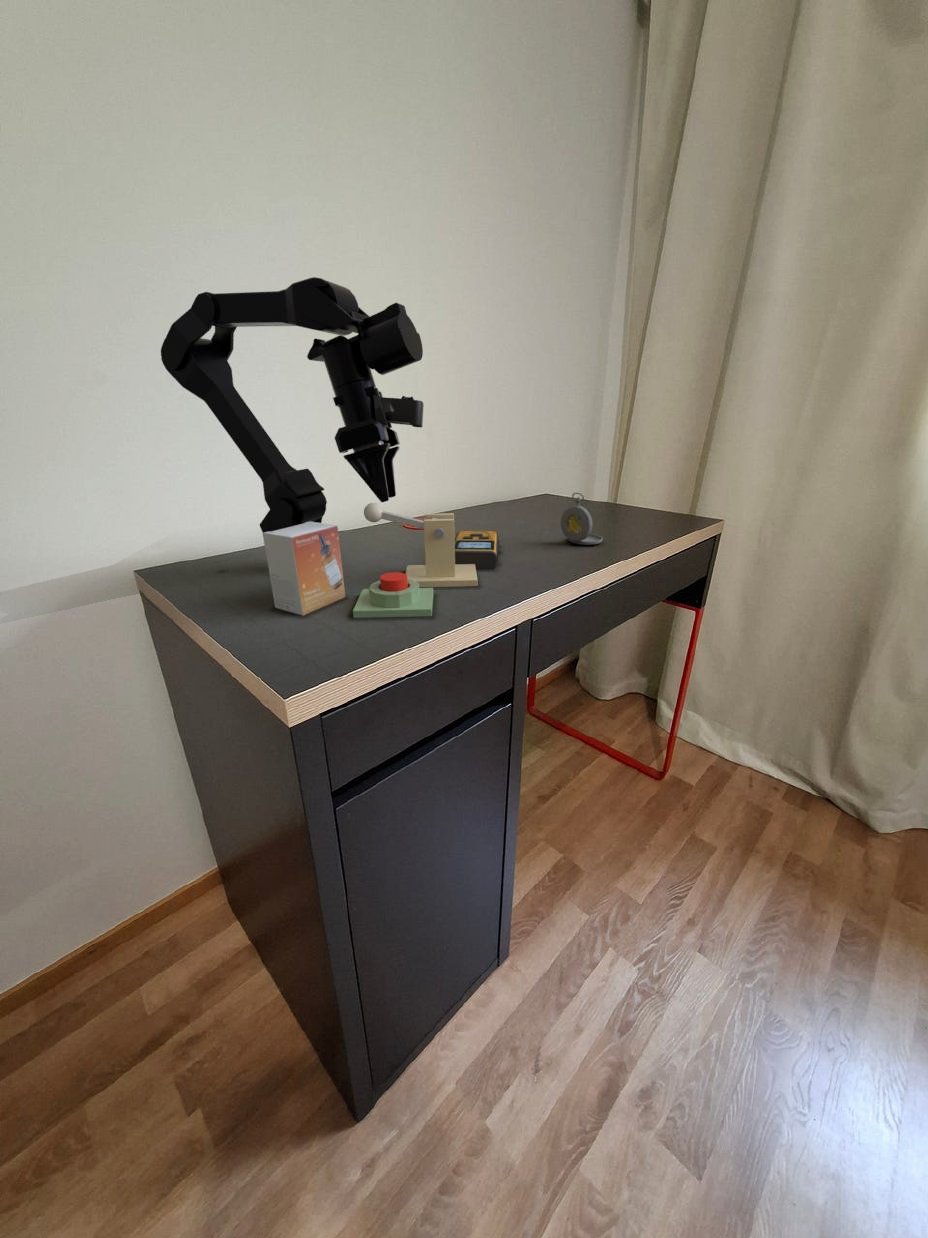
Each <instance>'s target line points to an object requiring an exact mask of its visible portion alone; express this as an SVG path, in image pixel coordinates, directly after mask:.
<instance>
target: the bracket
mask: <svg viewBox="0 0 928 1238" xmlns="http://www.w3.org/2000/svg"><path fill="white" fill-rule="evenodd" d="M432 518H437V519H432ZM423 521H424V529H423V538H424V560H425V562H424V563H425V564H410V565H409V564H408V565H407V566H406V570H405V574H406V575H407V579H411V580H414V581H416V582H417V583H419V588H449V587H478V584H479V582H478V581H479V579H478V574H477V569H476V568H475V564H455V537H456V536H455V513H454V512H451V513H450V512H448V513H447V512H445V513H424V519H423Z"/></svg>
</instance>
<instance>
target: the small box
mask: <svg viewBox="0 0 928 1238" xmlns="http://www.w3.org/2000/svg"><path fill="white" fill-rule="evenodd" d="M262 538H263V544H264V551H265V556H266V561H267V566H268V573H269V578H270V584H271V591H272V596H273V603H274V607H275V609H278V610H282V611H285V612H289V613H291V614H292V613H293V614H296V615H299V616H305V615H307V614H310V613H313V612H315V611H316V610H319V609H321V608H324V607H326V606H328V605H331V604H333V603H335V602H338V601H340V600H342V599H344V598H346V591H345V581H344V573H343V562H342V555H341V553H342V552H341V545H340V535H339V528H338V525H335V524H329V523H322V522H321V523H317V522H310V521H309V522H306V523H303V524H299V525H295V526H292V527H288V528H284V529H279V530H275V531H271V532H264V533H263V532H262Z"/></svg>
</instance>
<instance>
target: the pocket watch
mask: <svg viewBox="0 0 928 1238" xmlns="http://www.w3.org/2000/svg"><path fill="white" fill-rule="evenodd" d="M574 495H580V496H581V497H579V496H577V498H575V497H574ZM571 498H572V500H574V501H575V503H576V505H572V506H571V505H570V506H568V508H566V509H565V510H564V512H562V515H561V518H560V528H561V532H562V533H563V535H564V536H565V537H566V538H567V541H569V542H570V543H572V544H575V545H579V546H581V545H582V546H593V545H598V544H601V543H602V542H603V540H604V537H603V536H601V535H600V534H595V533H592V529H593V519H592V515H591V514H590V512H589V511H588V510H587V509H586V508H585V507H583V506H581V505H580V504H581V503H582V501H584V500H585V495H583V494H582V493H580V492H574V493H572V494H571ZM576 531H578V532H576Z"/></svg>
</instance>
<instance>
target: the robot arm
mask: <svg viewBox="0 0 928 1238" xmlns="http://www.w3.org/2000/svg"><path fill="white" fill-rule="evenodd" d="M213 327H214V333H213V335H212V337H211V338H210V339H209V338H203V337H204V336H205V335H206V334H207V333H208V332H210V330H211V329H212V328H213ZM240 327H241V328H242V327H245V328H246V327H248V328H249V327H253V328H254V327H300V328H305V329H308V330H313V331H317V332H322V333H327V334H331V335H337V336H335V337H333V338H330V339H328V340H324V339H321V338H314V339H313V341H312V345H311V347H310V349H309V351H308V352H307V356H306V358H307V360H308V361H312V362H313V361H314V362H322V363H324V367H325V369H326V372H327V375H328V377H329V381H330V384H331V387H332V390H333V393H334V397H332V400H333V403H334V406H335V407H337V408H338V409H339V412H340V415H341V418H342V421H343V424H344V426H342V427H338V428H337V429H338V430H337V431H336V433H335V435H334V441H335V443H336V447H337V450H338V453H339V454H344V455H343V458H344V460H346V461H347V463H348V464H349V465H350V466H351V467H352V468H353V470H354V471H355V472H356V473H357V474H358V476H359V477H360V478H361V479H362V481H363V482H364V483H365V484H366V485H367V487H368V488H369V489H370V491H372V493H373V494H374V496H375V497H376V498H377V499H378V500H379V501H380V503H385V502H388V501H390V499H391V498H395V497H396V495H397V494H396V493H397V491H396V481H395V470H394V458H395V457H396V455H397V453H398V451H399V450H400V446H399V445H400V444H401V443H400V439H399V435H398V433H397V431H395V430H394V429H392V428H393V426H392V424H395V425H405V426H412V427H413V428H423V422H424V421H423V420H424V407H425V406H424V405H425V404H424V402H423V401H422V400H418V399H415V398H414V397H413V396H408V397H407V396H405V395H402V396H401V398H397V397H383V393H382V391H379V388H378V387H377V386H376V382H375V379H374V376H373V373H372V370H374V371H375V372H376V373H377V374H379V375H381V376H384V375H387V374H389V373H392V372H395V371H397V370H400V369H402V368H405V367H407V366H410V365H413V364H415V363H417V362H419V361H422V359H423V355H424V351H423V349H424V348H423V343H422V342H423V341H422V339H421V335H420V333H419V332H418V331H417V328H416V326H415V324H414V322H413V320H412V319H411V318H410V316H409V315H408V314H407V309H406V306H405V305H404V304H401V303H399V302H394V303H392V304H390V305H388V306H387V307H386V308H385V309H383V310H381V311H379V312H377V313H375V314H372V315H369V314H368V313H366V312H365V311H364V310H363V309H362V308H361V307H359V303H358V301H357V298H356V296H355V295H354V294H353V292H352V290H351V289H350V288H348V287H345V286H342V285H340V284H337V283H334V282H331V281H329V280H327V279H324V278H321V277H316V276H313V277H309V278H306V279H303V280H298V281H296V282H292V283H291V284H290V285H289V286H287V287H286V288H285V289H281V290H276V291H250V292H249V291H248V292H247V291H245V292H224V293H222V292H221V293H214V292H211V291H204V292H200V293H198V294H197V295H196V297H194V301H193V302H192V305H191V307H190V308H189V309H188V310H187V311H185V312H184V313H183V314H182V315H181V316H180V317H178V318H177V319H176V320H175V321H174V322H173V323H172V324H171V325H170V327H169V330H168V332H167V334H166V336H165V338H164V340H163V342H162V345H161V347H160V357H161V358H160V359H161V362H162V364H163V366H164V368H165V370H166V371H167V372H168V373H169V375H170V376H171V377H172V378H174V380H175V381H176V382H177V383H178V384H179V385H180V386H181V387H182V388H183V389H185V390H186V391H188V392H190V393H191V394H193V395H194V396H195V397H197V398H199V399H200V400H202V401H203V402H204V403H205V404H206V406H207V408H209V410H210V411H211V412H212V414H213V415H214V417H215V418H216V419H217V420H218V422H219V423H220V425H221V426H222V428H223V429H224V430H225V431H226V433H227V435H228V436H229V437H230V439H231V440H232V441H233V443H234V444H235V445H236V447H237V448H238V450H239V451H240V452H241V454H242V455H243V456H244V458H245V459H246V461H247V462H248V463H249V465H250V467H252V469H253V470H254V472H255V473H256V475H257V476H258V477H259V479H260V480H261V482H262V487H263V488H262V489H263V498H264V501H265V503H266V505H267V507H268V511H267V513H266V514H265V516H264V517H263V519H262V520H261V522H260V523H259V528H260V530H261V532H262V534H263V533H264V532H271V531H275V530H279V529H284V528H288V527H292V526H295V525H299V524H303V523H306V522H309V521H310V522H317V523H322V522H323V517H324V515H325V514H326V512H327V504H328V501H327V497H326V495H325V494H324V492H323V491H325V488H324V487H323V486H322V485H320V484H319V483H318V481H317V479H316V478H315V476H314V474H313V472H312V471H311V470H310V469H309V468H302V469H297V468H295V467H293V466H292V465H291V464H290V463H289V461H287V459H286V458H285V457H284V455H283V454H282V452H281V451H280V449H279V448H278V447H277V446H276V444H275V442H274V441H273V439H272V438H271V437H270V436H269V434H268V432H267V431H266V429H264V427H263V425H262V424H261V423H260V422H259V420H258V418H257V417H256V415H254V413H253V411H252V410H251V409H250V407H249V406H248V404H247V403H246V401H245V400H244V399H243V398H242V396H241V395H240V393H239V392H238V391H237V389H236V387H235V386H234V385H235V384H234V377H233V370H232V366H231V365H230V362H228V360H229V359H230V357H231V355H232V353H233V351H234V341H235V340H234V337H235V335H234V334H235V332H236V330H237V328H240ZM352 333H354V334H357V335H354V336H352V337H349V338H348V337H346V336H348V335H350V334H352ZM350 450H353V452H351V453H348V452H349V451H350ZM345 453H348V454H345Z"/></svg>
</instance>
